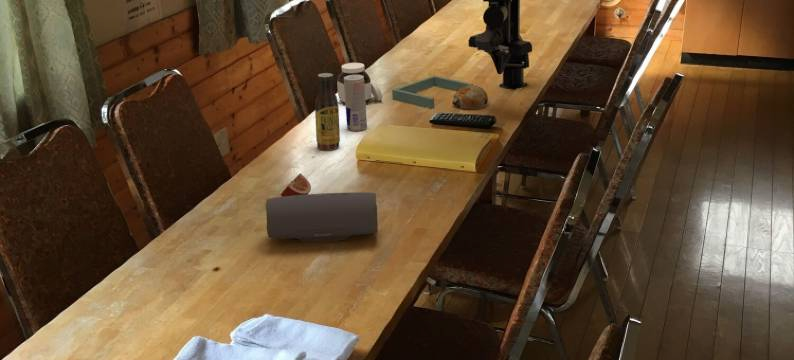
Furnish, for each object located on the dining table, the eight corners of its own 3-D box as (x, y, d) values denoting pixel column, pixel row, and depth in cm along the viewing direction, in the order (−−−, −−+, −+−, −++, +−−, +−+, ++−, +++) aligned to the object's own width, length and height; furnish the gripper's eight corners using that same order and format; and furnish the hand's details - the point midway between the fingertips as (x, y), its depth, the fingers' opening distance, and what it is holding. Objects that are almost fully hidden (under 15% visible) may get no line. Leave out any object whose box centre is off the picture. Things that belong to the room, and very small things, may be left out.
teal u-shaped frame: (434, 84, 300) (434, 75, 298) (473, 93, 289) (473, 84, 288) (392, 99, 287) (392, 89, 286) (431, 108, 277) (431, 99, 275)
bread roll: (479, 122, 274) (490, 99, 271) (447, 107, 275) (458, 84, 271) (483, 112, 283) (494, 89, 280) (452, 97, 284) (463, 74, 280)
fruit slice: (290, 190, 224) (288, 171, 222) (316, 192, 222) (315, 173, 220) (276, 204, 216) (274, 184, 214) (303, 207, 214) (301, 186, 212)
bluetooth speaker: (377, 226, 203) (375, 183, 199) (378, 245, 194) (375, 200, 191) (272, 231, 203) (268, 189, 199) (268, 251, 194) (263, 206, 190)
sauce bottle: (322, 153, 246) (316, 79, 239) (313, 146, 252) (307, 74, 244) (345, 148, 249) (340, 75, 242) (335, 141, 254) (330, 70, 247)
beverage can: (370, 125, 265) (367, 74, 259) (362, 132, 260) (359, 80, 254) (351, 124, 267) (348, 73, 261) (344, 131, 262) (340, 79, 256)
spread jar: (334, 103, 286) (332, 66, 282) (361, 94, 294) (358, 57, 290) (362, 110, 279) (360, 72, 274) (388, 100, 286) (386, 63, 282)
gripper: (455, 20, 262) (456, 75, 268) (508, 29, 249) (508, 86, 255) (480, 13, 269) (481, 66, 275) (533, 21, 257) (533, 76, 263)
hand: (499, 73), depth 267 cm, fingers closed
